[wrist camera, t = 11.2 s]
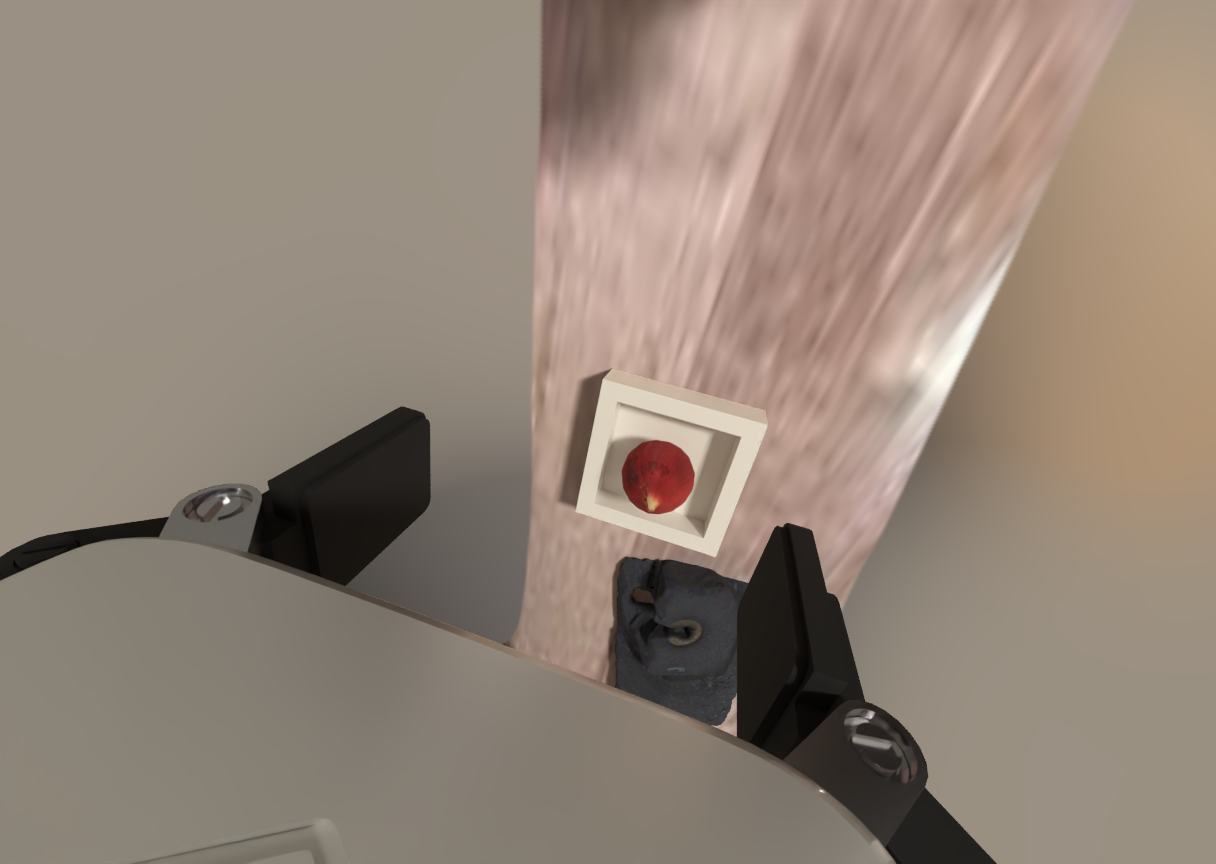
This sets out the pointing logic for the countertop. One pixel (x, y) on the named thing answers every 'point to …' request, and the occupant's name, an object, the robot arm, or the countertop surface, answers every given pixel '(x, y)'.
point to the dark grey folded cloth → (678, 637)
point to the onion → (657, 477)
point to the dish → (689, 420)
